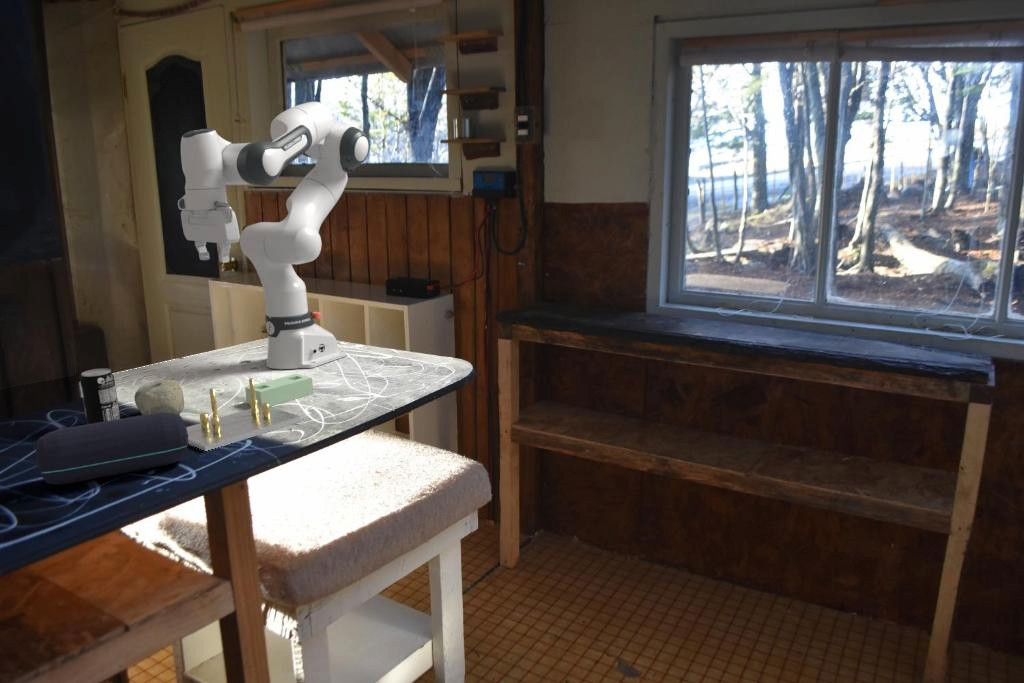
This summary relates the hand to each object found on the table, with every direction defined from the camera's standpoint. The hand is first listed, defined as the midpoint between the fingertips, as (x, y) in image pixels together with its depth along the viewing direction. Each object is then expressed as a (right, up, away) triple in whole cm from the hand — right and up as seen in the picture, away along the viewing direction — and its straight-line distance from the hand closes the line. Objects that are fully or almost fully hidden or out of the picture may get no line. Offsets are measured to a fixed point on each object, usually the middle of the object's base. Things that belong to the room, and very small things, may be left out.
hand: (214, 261), depth 187 cm
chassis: (+12, -38, -18) cm, 43 cm away
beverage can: (-20, -37, -12) cm, 44 cm away
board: (+15, -33, +2) cm, 36 cm away
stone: (-10, -36, -6) cm, 38 cm away
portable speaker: (-3, -43, -39) cm, 59 cm away
